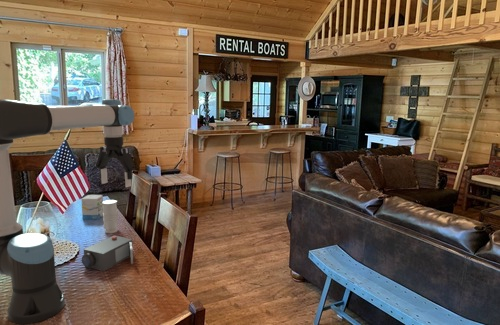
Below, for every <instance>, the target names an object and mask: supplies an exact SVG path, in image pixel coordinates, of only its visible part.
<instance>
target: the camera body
mask: <svg viewBox="0 0 500 325" xmlns="http://www.w3.org/2000/svg"><path fill="white" fill-rule="evenodd" d="M130 241H132V249H133V250H134V248H133V247H134V246H133V243H134V242H133V239H132V238H129V237H128V238H127V237H124V236H118V235H113V236H109V237H108V238H105V239H103V240H101V241H99V242H97V243H95V244H92V245H90V246H88V247H86V248H84V249H83V255H82V256H81V263H82V264H83V266H84V268H89V269H90V268H92V269H95V270H99V271H102V272H105V271H107V270H109V269H110V268H112V267H114V266H115V265H118V264H120V263H121V262H123V261H125V260H127V259H130V255H129V242H130Z"/></svg>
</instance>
